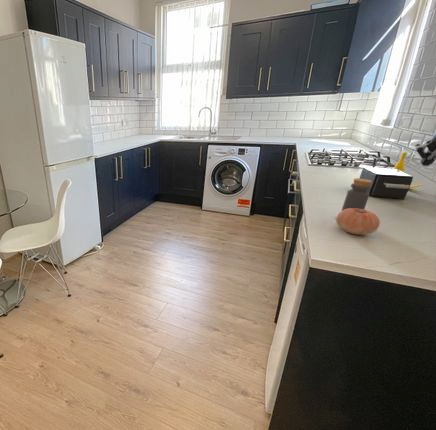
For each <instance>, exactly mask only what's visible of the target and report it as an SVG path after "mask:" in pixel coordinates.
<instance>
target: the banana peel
mask: <svg viewBox="0 0 436 430" xmlns="http://www.w3.org/2000/svg"><path fill="white" fill-rule="evenodd" d="M407 154H408V152H407V151H402V152H401V157H400V158H399V161H398V162H397V163H396V164H395V165H394V166H393V168H392V169H397V170H399V171H402V172H404V173H405V159H406V157H407ZM421 186H423V184H422V183H421V184H420V183H419V184H415V185H410V187H409V189H412V188H417V187H421Z"/></svg>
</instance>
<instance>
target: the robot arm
mask: <svg viewBox="0 0 436 430" xmlns="http://www.w3.org/2000/svg"><path fill="white" fill-rule="evenodd" d="M414 147H415V150H416V152H417V154H418V155H419V157H420V158H421V160H420V163H421V165H422V166H423V167H429V166H430V165H433V163H434V162H435V161H436V131H435V132H433V134H432V136H431V138H430V139H428V140H426V142H425V143H423V144H420V143H417V144H415V145H414ZM426 148H427V151H426V152H425V150H426Z"/></svg>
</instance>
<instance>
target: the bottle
mask: <svg viewBox="0 0 436 430" xmlns="http://www.w3.org/2000/svg"><path fill="white" fill-rule="evenodd" d="M371 182H372V181H371V180H367V179H360V177H358V178H357V177H356V178H354V179H353V182H352V183H351V184H350V188H351V189H349V190H348V191H347V192H346V196H345V199H344V201H343V204H342V208H341V211H343V210H345V209H348V208H358V209H363V210H366V206H367V203H368V201H369V198H370V196H369V193H368V192H367V190H369V189H370V188H371V186H369V185H370V184H371Z"/></svg>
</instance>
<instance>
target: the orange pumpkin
mask: <svg viewBox="0 0 436 430" xmlns="http://www.w3.org/2000/svg"><path fill="white" fill-rule="evenodd" d="M335 222H336V224H337V226H338V227H339V228H340V229H341V230H342V231H344V232H347V233H349V234H353V235H360V236H362V235H363V236H365V235H369V234H370V235H371V234H372V233H374V232H375V231H377V230H378V229H379V227H380V226H381V225H380V224H381V222H380V218H379V217H378V215H377V214H376V213H375V212H372V211H371V210H367V209H364V210H363V209H358V208H348V209H345V210H343V211H342V210H340V211H339V212H338V213H337V215H336V218H335Z"/></svg>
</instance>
